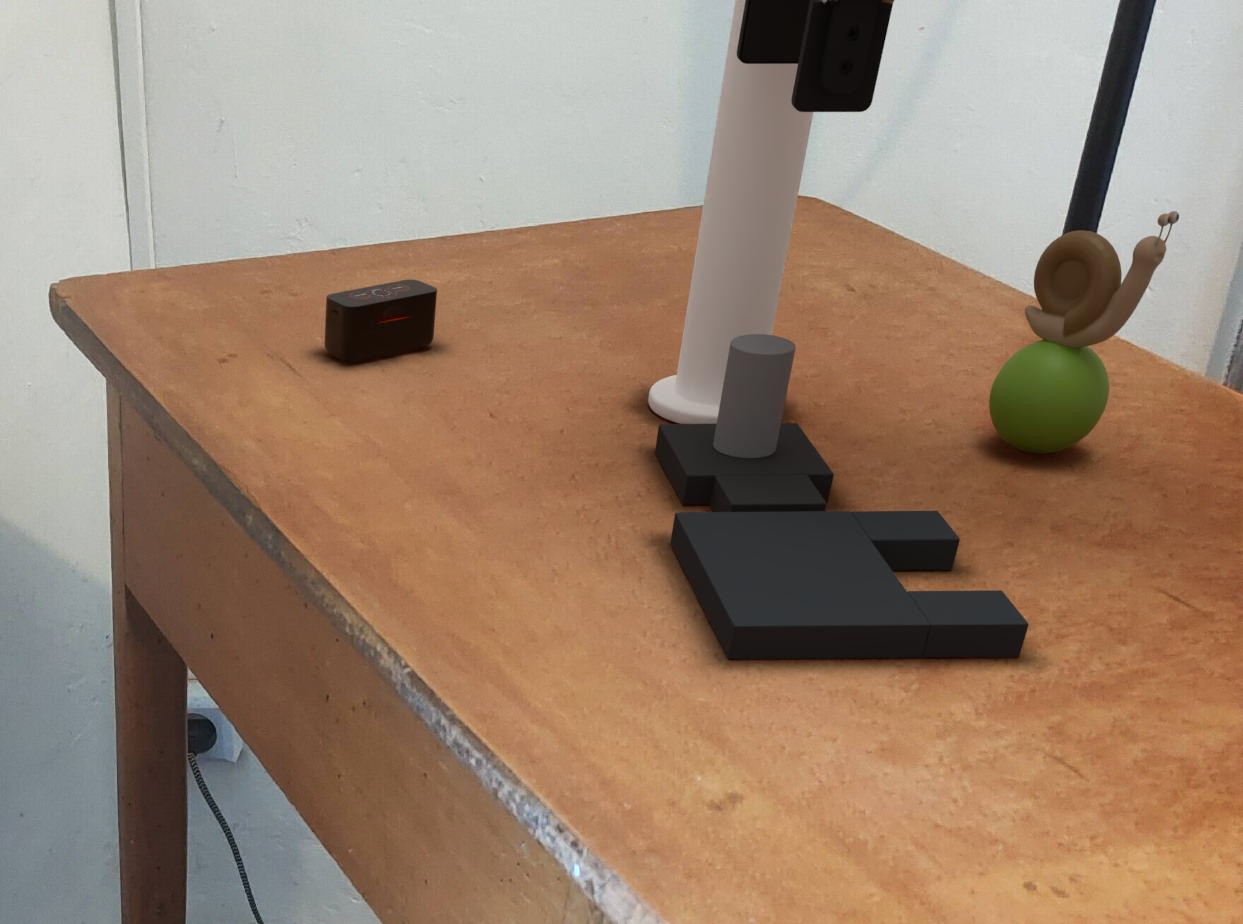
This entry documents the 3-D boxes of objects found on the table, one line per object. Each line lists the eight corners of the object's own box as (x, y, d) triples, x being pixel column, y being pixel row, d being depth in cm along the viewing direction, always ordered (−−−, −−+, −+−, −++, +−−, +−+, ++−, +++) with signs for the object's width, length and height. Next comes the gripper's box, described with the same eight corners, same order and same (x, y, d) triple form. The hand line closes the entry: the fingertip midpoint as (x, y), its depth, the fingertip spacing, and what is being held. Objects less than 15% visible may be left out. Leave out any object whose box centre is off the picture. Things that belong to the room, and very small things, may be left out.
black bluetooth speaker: (448, 346, 110) (453, 288, 108) (346, 367, 107) (349, 308, 105) (402, 324, 113) (406, 268, 111) (302, 345, 110) (304, 287, 108)
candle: (721, 440, 97) (822, -132, 82) (620, 404, 102) (696, -145, 86) (810, 411, 101) (923, -145, 85) (708, 377, 105) (797, -157, 89)
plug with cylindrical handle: (654, 452, 96) (674, 321, 92) (791, 451, 96) (818, 320, 92) (698, 535, 88) (722, 395, 84) (848, 534, 88) (880, 393, 84)
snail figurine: (1062, 484, 92) (1139, 223, 85) (954, 445, 96) (1018, 193, 89) (1130, 460, 95) (1211, 204, 87) (1022, 423, 99) (1090, 176, 91)
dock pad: (930, 541, 87) (938, 509, 86) (1019, 657, 78) (1029, 623, 77) (669, 543, 87) (675, 511, 86) (727, 659, 78) (734, 625, 77)
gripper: (1079, -415, 65) (948, 131, 75) (923, -418, 78) (831, 46, 89) (860, -415, 65) (761, 131, 75) (742, -418, 78) (672, 46, 89)
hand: (799, 85), depth 82 cm, fingers open, 9 cm apart
